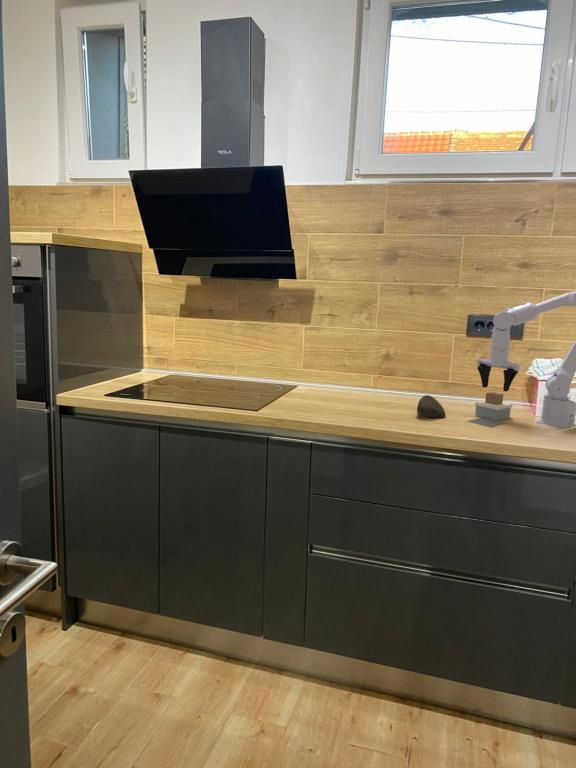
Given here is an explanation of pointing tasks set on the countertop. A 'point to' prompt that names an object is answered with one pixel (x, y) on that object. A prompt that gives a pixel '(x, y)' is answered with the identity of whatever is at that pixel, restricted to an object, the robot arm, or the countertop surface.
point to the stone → (430, 408)
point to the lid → (494, 401)
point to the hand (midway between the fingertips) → (495, 388)
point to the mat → (486, 422)
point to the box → (492, 413)
